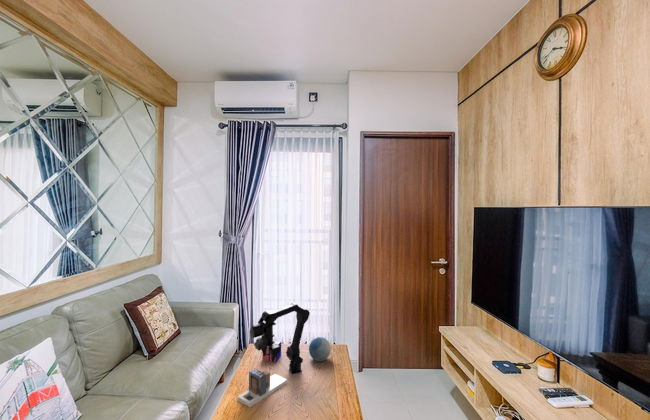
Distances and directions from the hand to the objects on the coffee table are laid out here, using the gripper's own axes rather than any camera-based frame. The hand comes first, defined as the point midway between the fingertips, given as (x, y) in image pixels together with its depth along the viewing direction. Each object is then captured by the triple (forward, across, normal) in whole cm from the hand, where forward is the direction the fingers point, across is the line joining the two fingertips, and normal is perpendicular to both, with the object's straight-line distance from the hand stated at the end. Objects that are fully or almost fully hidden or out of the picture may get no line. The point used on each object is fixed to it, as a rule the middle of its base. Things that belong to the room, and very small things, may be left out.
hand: (268, 358), depth 188 cm
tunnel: (+11, +8, -12) cm, 18 cm away
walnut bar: (+11, +7, -10) cm, 16 cm away
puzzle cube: (+14, -22, +16) cm, 30 cm away
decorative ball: (+14, +1, +39) cm, 42 cm away
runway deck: (+13, +7, -8) cm, 17 cm away
